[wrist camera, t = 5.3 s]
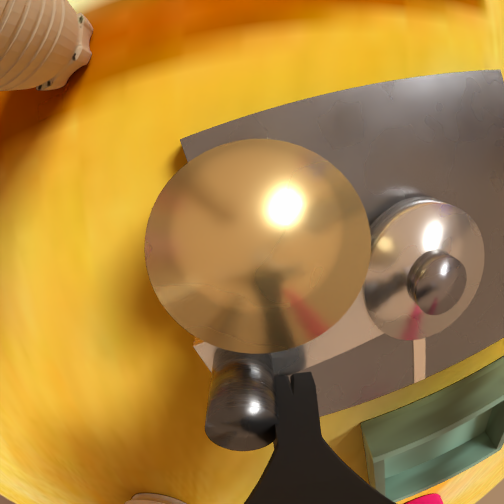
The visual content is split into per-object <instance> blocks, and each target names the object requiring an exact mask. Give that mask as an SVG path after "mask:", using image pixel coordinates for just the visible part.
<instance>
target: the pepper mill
mask: <svg viewBox="0 0 504 504" xmlns="http://www.w3.org/2000/svg"><path fill="white" fill-rule="evenodd" d="M405 504H443V502H442V499H441V497H440V495H438V494H429V495H425V496H422V497H419V498H416V499H414V500H411V501H409V502H407V503H405Z"/></svg>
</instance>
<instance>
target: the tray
mask: <svg viewBox="0 0 504 504" xmlns="http://www.w3.org/2000/svg"><path fill="white" fill-rule="evenodd" d="M361 429H362V436H363V442H364V449H365V456H366V463H367V470H368V478H369V483H370V486H372V487H373V488H374V489H376V490H377V491H378V492H380V493H381V494H383V495H384V496H385V497H387V498H388V499H390V500H392V501H393V502H397V501H400V500H403V499H405V498H408V497H410V496H412V495H415V494H417V493H420V492H422V491H424V490H426V489H429V488H431V487H433V486H435V485H437V484H440V483H442V482H444V481H446V480H448V479H450V478H452V477H454V476H456V475H458V474H459V473H461V472H463V471H465V470H467V469H469V468H471V467H472V466H474V465H476V464H478V463H479V462H481V461H483V460H484V459H486V458H488V457H489V456H491V455H493V454H494V453H496V452H497V451H499V450H501V448H502V446H503V443H504V356H503V357H501V358H500V359H498V360H496V361H495V362H493V363H491V364H489V365H488V366H486V367H484V368H483V369H481V370H479V371H477V372H475V373H474V374H472V375H470V376H468V377H466V378H464V379H462V380H460V381H458V382H456V383H454V384H452V385H450V386H448V387H446V388H444V389H442V390H440V391H438V392H436V393H434V394H432V395H430V396H427V397H425V398H423V399H421V400H418V401H416V402H414V403H411V404H409V405H407V406H404V407H402V408H399V409H397V410H394V411H392V412H389V413H387V414H384V415H381V416H379V417H376V418H373V419H371V420H368V421H365V422H362V423H361Z"/></svg>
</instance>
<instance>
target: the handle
mask: <svg viewBox="0 0 504 504" xmlns="http://www.w3.org/2000/svg"><path fill="white" fill-rule="evenodd" d="M92 34H93V27H92V25H91V24H90V22H89V21H88V20H87V18H86V17H85V16H84V15H83V14H82V13H79V14H76V12H75V10H74V9H73V8H72V6H71V5H70V4H69V2H68V1H67V0H0V91H9V90H22V89H30V88H34V87H36V90H53V89H58V88H61V87H63V86H64V85H65V84H66V83H67V80H68V79H69V77H70V76H71V75H72V74H73V73H74V72H75V71H76V70H77V69H79V68H80V67H82V66H83V65H87V64H88V62H89V60H90V58H91V55H92V53H91V51H90V49H89V41H90V37H91V35H92Z"/></svg>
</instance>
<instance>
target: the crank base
mask: <svg viewBox="0 0 504 504" xmlns="http://www.w3.org/2000/svg"><path fill="white" fill-rule="evenodd" d="M247 139H273V140H279V141H285V142H289V143H292V144H295V145H299V146H302V147H304V148H306V149H308V150H310V151H313V152H315V153H317V154H318V155H320V156H321V157H323V158H324V159H326V160H327V161H329V162H330V163H331V164H332V165H334V166H335V167H336V168H337V169H338V170H339V171H340V172H341V173H342V174H343V175H344V176H345V177H346V178H347V180H348V181H349V182H350V183H351V184H352V186H353V188H354V189H355V191H356V192H357V194H358V196H359V197H360V200H361V202H362V204H363V206H364V209H365V211H366V215H367V218H368V222H369V227H370V226H371V224H372V223H373V222H374V221H375V220H376V218H377V217H378V216H380V215H381V214H382V213H383V212H384V211H385V210H387V209H388V208H389V207H391V206H392V205H394V204H396V203H398V202H400V201H403V200H405V199H409V198H413V197H430V198H434V199H437V200H440V201H442V202H445V203H448V204H450V205H453V206H455V207H457V208H459V209H461V210H463V211H464V212H466V213H467V214H468V215H469V216H470V217H471V218H472V219H473V220H474V222H475V223H476V225H477V227H478V229H479V231H480V233H481V236H482V239H483V244H484V253H485V257H484V268H483V274H482V278H481V281H480V284H479V287H478V289H477V291H476V293H475V295H474V297H473V299H472V301H471V302H470V304H469V305H468V307H467V308H466V309H465V311H464V312H463V313H462V314H461V315H460V316H459V317H458V318H457V319H456V320H455V321H454V322H453V323H452V324H450V325H449V326H448V327H447V328H445V329H443V330H442V331H440V332H438V333H436V334H434V335H432V336H429V337H427V338H423V339H419V340H400V339H396V338H393V337H391V336H389V335H387V334H385V333H384V334H382V335H380V336H378V337H376V338H374V339H371V340H369V341H367V342H365V343H363V344H361V345H359V346H357V347H354V348H352V349H350V350H348V351H346V352H343V353H341V354H339V355H337V356H334V357H332V358H330V359H327V360H325V361H323V362H320V363H318V364H316V365H313V366H311V367H308V368H306V369H303V370H301V371H298V372H296V373H303V372H311V373H312V376H313V379H314V382H315V385H316V393H317V401H318V410H319V417H321V416H324V415H327V414H331V413H334V412H337V411H340V410H343V409H347V408H350V407H353V406H355V405H358V404H361V403H364V402H367V401H370V400H372V399H375V398H378V397H381V396H383V395H386V394H388V393H391V392H394V391H396V390H399V389H401V388H403V387H406V386H408V385H411V384H413V383H416V382H418V381H421V380H423V379H425V378H427V377H429V376H431V375H433V374H435V373H438V372H440V371H442V370H444V369H446V368H448V367H450V366H452V365H454V364H456V363H458V362H460V361H462V360H464V359H466V358H468V357H470V356H472V355H474V354H475V353H477V352H479V351H481V350H483V349H485V348H486V347H488V346H490V345H492V344H493V343H495V342H497V341H499V340H500V339H502V338H504V81H503V78H502V74H501V71H500V70H483V71H468V72H456V73H445V74H436V75H428V76H420V77H413V78H406V79H400V80H393V81H387V82H382V83H376V84H371V85H366V86H360V87H356V88H351V89H346V90H341V91H337V92H333V93H328V94H324V95H320V96H316V97H312V98H308V99H304V100H300V101H296V102H293V103H289V104H285V105H282V106H278V107H275V108H271V109H268V110H264V111H261V112H258V113H255V114H251V115H248V116H245V117H242V118H239V119H236V120H233V121H230V122H227V123H224V124H221V125H218V126H215V127H212V128H210V129H207V130H204V131H201V132H199V133H196V134H193V135H190V136H188V137H185V138H183V139H180V141H181V144H182V147H183V150H184V153H185V156H186V158H187V161H188V162H189V161H191V160H192V159H194V158H195V157H197V156H199V155H200V154H202V153H204V152H206V151H208V150H210V149H212V148H215V147H217V146H220V145H223V144H226V143H230V142H234V141H239V140H247ZM291 375H292V374H291ZM291 375H288V377H289V381H290V376H291Z"/></svg>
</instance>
